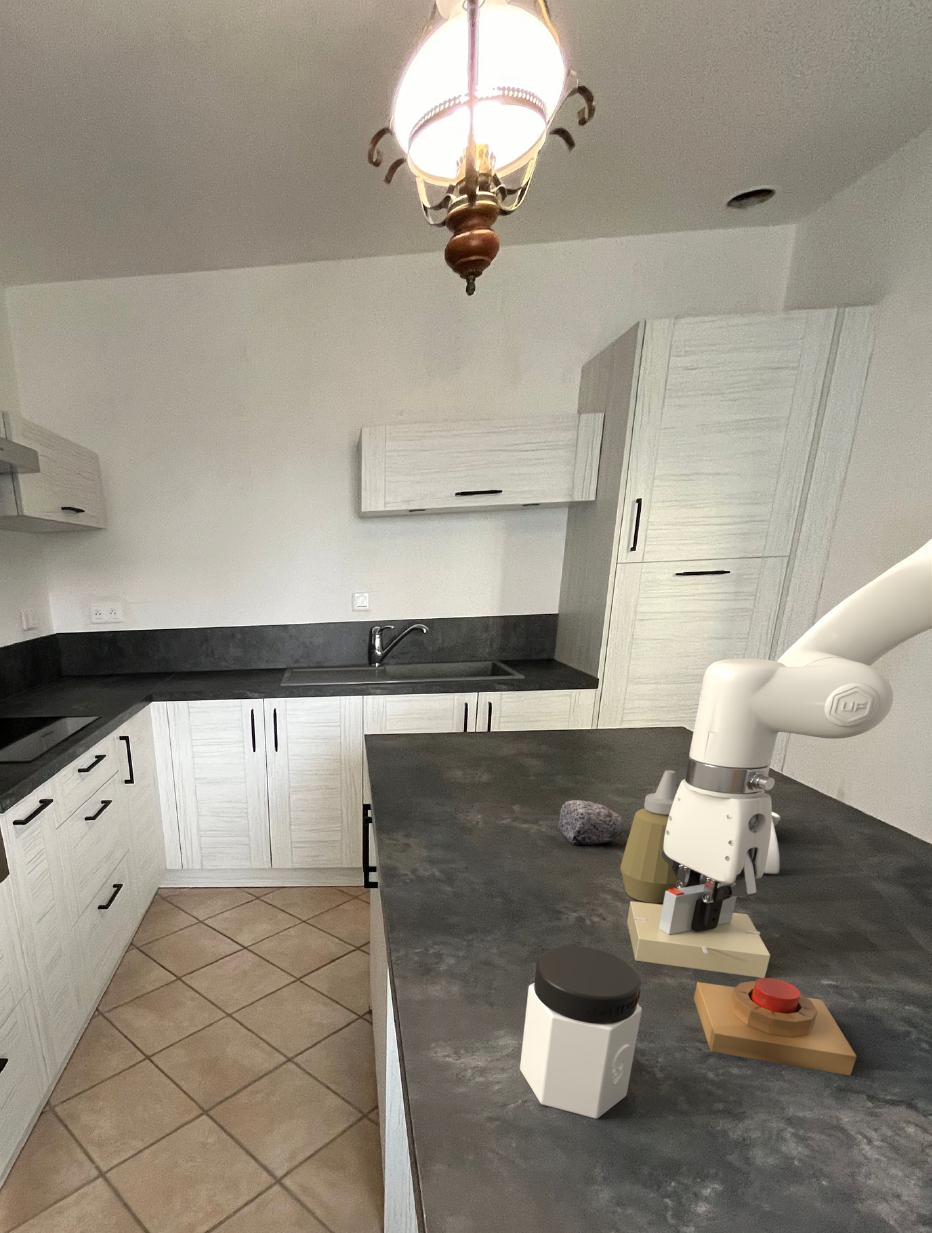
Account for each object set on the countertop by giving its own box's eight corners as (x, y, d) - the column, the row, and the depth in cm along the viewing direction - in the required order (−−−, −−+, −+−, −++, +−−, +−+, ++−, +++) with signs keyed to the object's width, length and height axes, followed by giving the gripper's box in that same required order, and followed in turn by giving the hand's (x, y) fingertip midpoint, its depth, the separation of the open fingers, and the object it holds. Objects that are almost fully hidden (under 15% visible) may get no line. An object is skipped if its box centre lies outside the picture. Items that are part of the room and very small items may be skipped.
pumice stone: (609, 846, 118) (552, 824, 121) (629, 806, 115) (570, 785, 118) (609, 867, 109) (547, 843, 112) (630, 825, 106) (566, 802, 109)
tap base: (740, 929, 86) (746, 907, 85) (769, 986, 74) (776, 961, 73) (625, 915, 90) (628, 894, 89) (635, 967, 79) (639, 943, 78)
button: (789, 996, 67) (794, 981, 66) (801, 1017, 64) (806, 1002, 63) (747, 990, 68) (750, 975, 67) (756, 1011, 65) (760, 995, 64)
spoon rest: (687, 819, 122) (694, 780, 120) (763, 824, 119) (772, 785, 116) (715, 871, 102) (725, 826, 99) (809, 880, 98) (821, 833, 95)
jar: (583, 1134, 56) (602, 1012, 52) (502, 1079, 63) (513, 967, 58) (642, 1087, 61) (664, 972, 57) (561, 1041, 67) (575, 934, 63)
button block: (817, 1017, 69) (826, 984, 68) (850, 1076, 61) (862, 1039, 60) (693, 999, 73) (700, 966, 71) (710, 1052, 65) (718, 1017, 64)
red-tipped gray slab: (720, 916, 83) (728, 877, 81) (731, 922, 82) (740, 882, 80) (658, 928, 81) (665, 888, 79) (668, 934, 79) (676, 894, 78)
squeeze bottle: (617, 879, 101) (635, 761, 94) (680, 888, 97) (703, 766, 91) (615, 902, 94) (635, 777, 87) (683, 912, 90) (708, 783, 84)
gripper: (822, 792, 68) (781, 951, 75) (694, 755, 83) (669, 892, 89) (763, 801, 67) (726, 963, 73) (643, 762, 81) (621, 901, 87)
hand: (695, 923), depth 81 cm, fingers closed on red-tipped gray slab
